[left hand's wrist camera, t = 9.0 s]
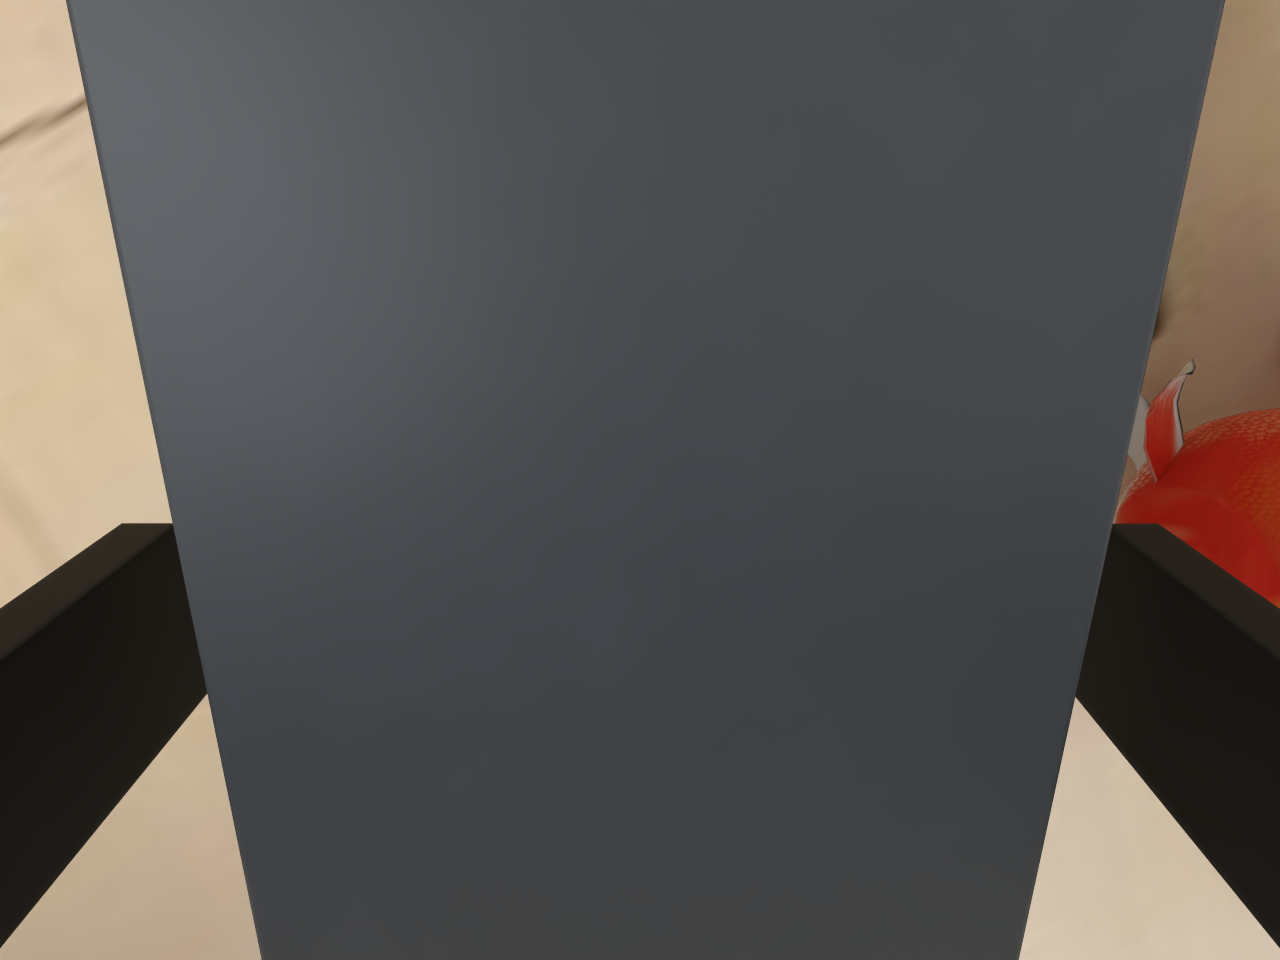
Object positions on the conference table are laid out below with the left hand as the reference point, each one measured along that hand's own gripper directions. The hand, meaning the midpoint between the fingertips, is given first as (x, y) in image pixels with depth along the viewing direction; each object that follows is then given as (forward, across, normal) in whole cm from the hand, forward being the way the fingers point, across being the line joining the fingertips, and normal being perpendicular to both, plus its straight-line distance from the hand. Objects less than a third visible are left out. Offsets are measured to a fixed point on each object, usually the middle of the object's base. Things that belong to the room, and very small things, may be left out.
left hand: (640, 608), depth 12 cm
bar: (+3, 0, -8) cm, 8 cm away
